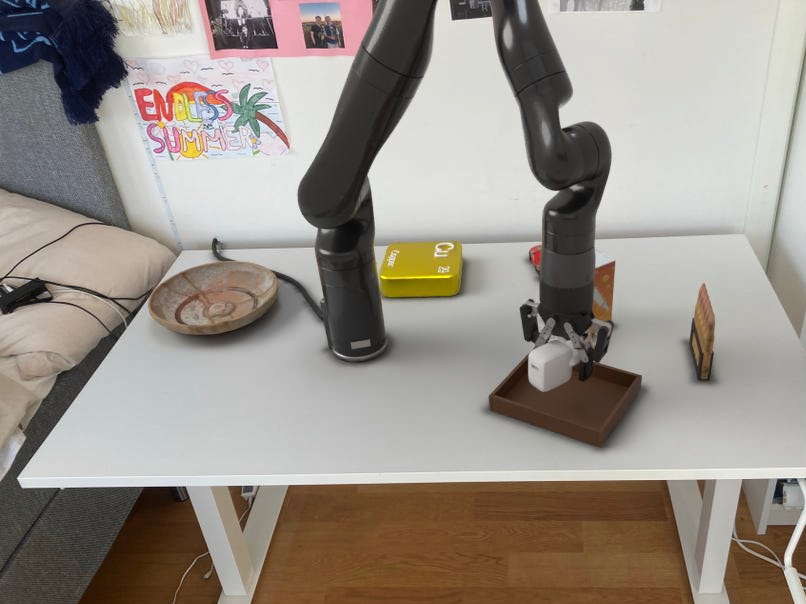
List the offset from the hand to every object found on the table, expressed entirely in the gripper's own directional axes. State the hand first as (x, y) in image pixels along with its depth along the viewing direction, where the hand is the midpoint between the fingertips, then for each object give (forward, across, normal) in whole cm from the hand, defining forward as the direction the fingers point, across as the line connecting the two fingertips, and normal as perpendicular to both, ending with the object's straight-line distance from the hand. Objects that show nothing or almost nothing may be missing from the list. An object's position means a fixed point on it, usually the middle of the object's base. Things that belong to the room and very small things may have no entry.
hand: (564, 372), depth 116 cm
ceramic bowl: (+6, +68, +6) cm, 68 cm away
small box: (+6, +6, -20) cm, 22 cm away
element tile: (+6, +41, -22) cm, 47 cm away
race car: (+6, +21, -36) cm, 42 cm away
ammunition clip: (+5, -15, -20) cm, 25 cm away
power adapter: (+1, 0, 0) cm, 1 cm away
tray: (+5, 0, 0) cm, 5 cm away
